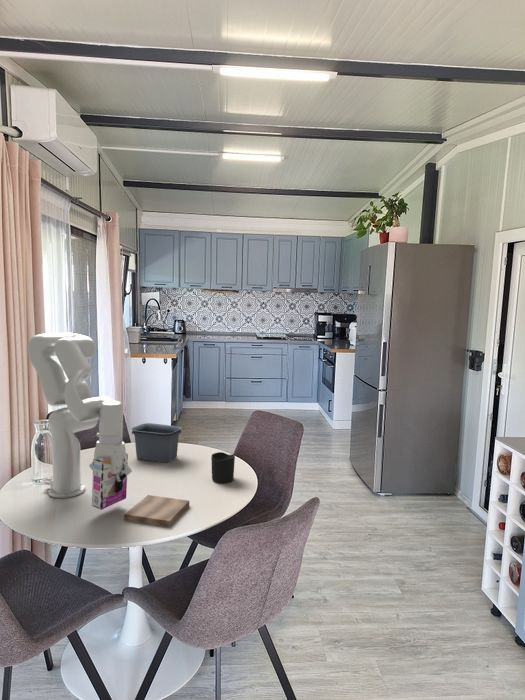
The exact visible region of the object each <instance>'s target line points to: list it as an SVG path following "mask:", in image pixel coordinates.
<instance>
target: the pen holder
mask: <svg viewBox="0 0 525 700" xmlns="http://www.w3.org/2000/svg"><path fill="white" fill-rule="evenodd" d="M210 457H211V480H212V482H214V483H216V482H217V483H216V484H229V483H231V482H233V481H234V476H235V475H234V474H235V459H236V458H235V457H236V456H235V454H233V453H232V454H228V453H226V452H223V451H222V452H221V451H220V452H219V451H218V452H214V453H213V454H211V456H210ZM228 482H229V483H228Z"/></svg>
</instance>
